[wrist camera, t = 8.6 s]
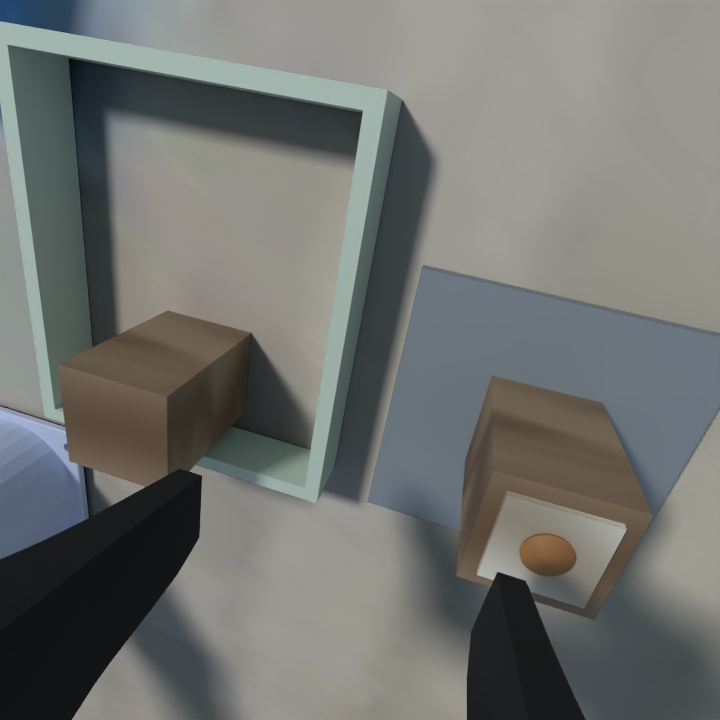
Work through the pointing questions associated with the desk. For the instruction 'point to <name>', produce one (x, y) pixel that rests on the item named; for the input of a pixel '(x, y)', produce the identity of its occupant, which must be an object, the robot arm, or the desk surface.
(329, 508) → the desk surface
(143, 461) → the plain block
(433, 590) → the desk surface
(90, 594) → the robot arm
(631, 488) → the labelled block
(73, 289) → the bin
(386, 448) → the mat
